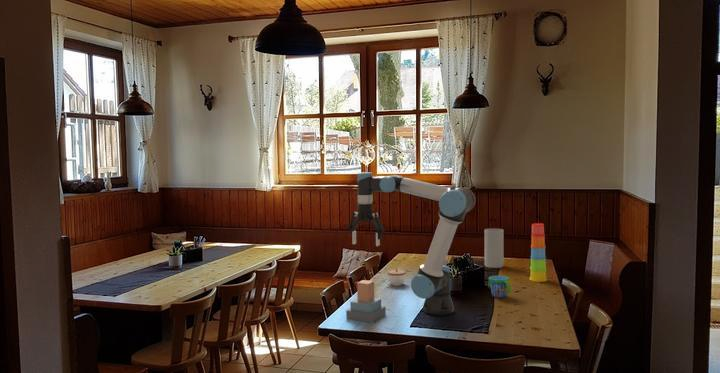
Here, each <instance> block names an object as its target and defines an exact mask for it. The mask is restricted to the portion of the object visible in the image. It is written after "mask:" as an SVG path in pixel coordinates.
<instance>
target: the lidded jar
mask: <svg viewBox="0 0 720 373" xmlns="http://www.w3.org/2000/svg"><path fill="white" fill-rule="evenodd" d="M406 274H407V273H406V271H405V270H403V269H398V268H396V269H391V270H387V278H388V282H389V283H390V284H391V285H392V286H394V287H396V286H397V287H398V286H402V285H403V284H404V283H405V281H406Z"/></svg>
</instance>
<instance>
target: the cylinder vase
mask: <svg viewBox="0 0 720 373" xmlns="http://www.w3.org/2000/svg"><path fill="white" fill-rule="evenodd" d="M504 232H505V231H504V229H502V228H484V267H486V268H488V269H501V268H503V267H504V265H505V264H504V263H505V262H504V261H505V260H504V259H505V258H504V250H505V249H504V246H505V245H504V240H505V239H504V237H505V236H504Z"/></svg>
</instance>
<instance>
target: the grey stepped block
mask: <svg viewBox="0 0 720 373" xmlns="http://www.w3.org/2000/svg"><path fill="white" fill-rule="evenodd" d="M349 305H350V307H349V308H348V309H346V311H345V312H346V315H345V316H346V318H345V319H347V320H353V321H359V322H366V323H371V324H372V323H374V322H376V321H377V320H379V319H380V318H382V317H384V316H385V315H386V306H385V305H382V298H378V297H374V300H372V301H371V302H369V303H368V302H361V301H358V297H357V298H355V299H354V300H351V301H350V304H349Z"/></svg>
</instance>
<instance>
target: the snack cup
mask: <svg viewBox="0 0 720 373" xmlns="http://www.w3.org/2000/svg"><path fill="white" fill-rule="evenodd" d="M487 286H488V288H490V290H491V296H492V297H494V298H505V297H507V294H510V293H511V285H510V278H509V277H508V276H506V275H505V276H504V275H491V276H489V277H488V281H487Z"/></svg>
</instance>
